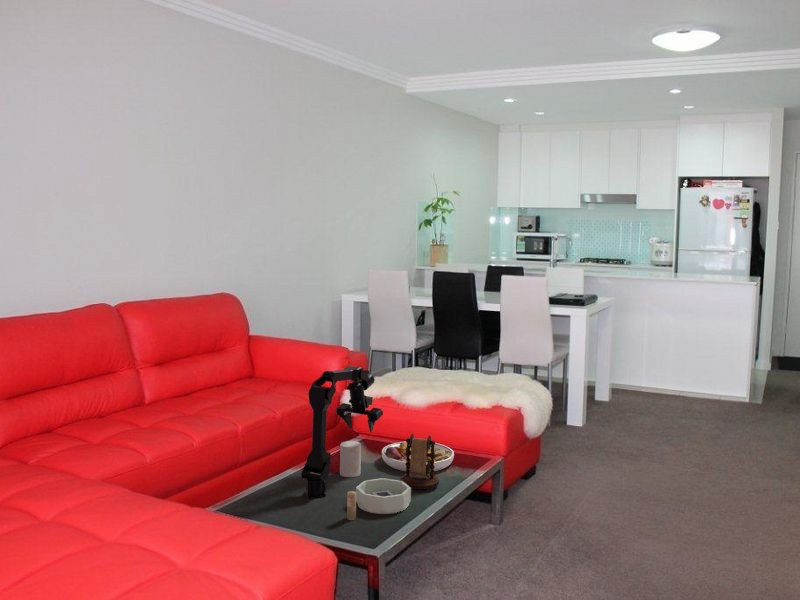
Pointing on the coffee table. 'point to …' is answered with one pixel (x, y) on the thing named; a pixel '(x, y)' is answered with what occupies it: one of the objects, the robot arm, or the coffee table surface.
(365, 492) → the octagonal white bin
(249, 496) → the coffee table surface
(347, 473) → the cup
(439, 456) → the bowl
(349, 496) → the beige rounded cylinder
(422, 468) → the scroll
